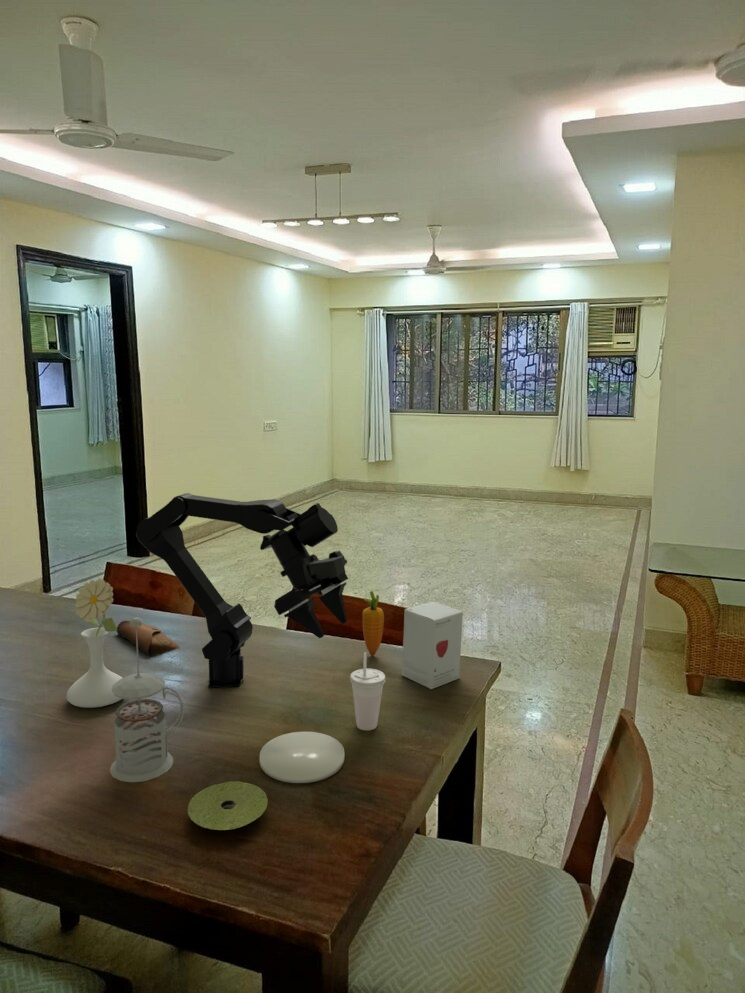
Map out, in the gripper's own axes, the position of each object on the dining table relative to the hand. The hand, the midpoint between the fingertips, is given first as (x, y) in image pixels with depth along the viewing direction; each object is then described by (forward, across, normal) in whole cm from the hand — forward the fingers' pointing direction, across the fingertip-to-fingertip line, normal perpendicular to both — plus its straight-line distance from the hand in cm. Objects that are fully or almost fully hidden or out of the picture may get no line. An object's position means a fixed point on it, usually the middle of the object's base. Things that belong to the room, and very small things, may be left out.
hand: (333, 629), depth 132 cm
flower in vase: (-10, -20, +42) cm, 47 cm away
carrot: (+10, +24, +11) cm, 28 cm away
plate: (+16, -20, +5) cm, 25 cm away
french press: (+4, -32, +23) cm, 40 cm away
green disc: (+15, -37, +6) cm, 41 cm away
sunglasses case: (-18, +7, +52) cm, 56 cm away
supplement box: (+19, +20, -2) cm, 28 cm away
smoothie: (+18, -5, +1) cm, 19 cm away
